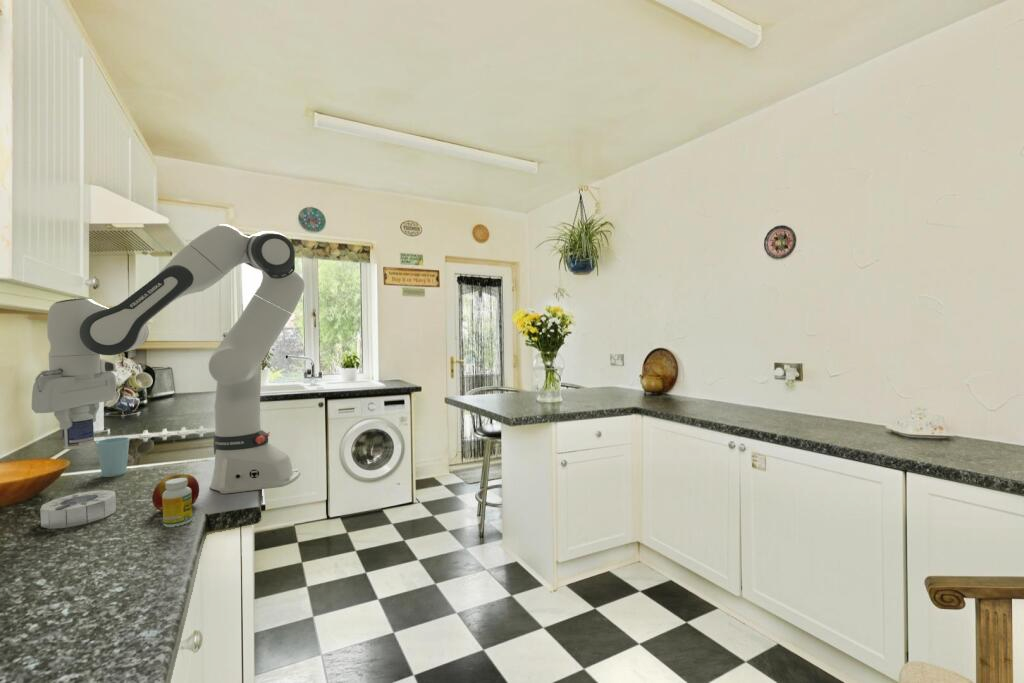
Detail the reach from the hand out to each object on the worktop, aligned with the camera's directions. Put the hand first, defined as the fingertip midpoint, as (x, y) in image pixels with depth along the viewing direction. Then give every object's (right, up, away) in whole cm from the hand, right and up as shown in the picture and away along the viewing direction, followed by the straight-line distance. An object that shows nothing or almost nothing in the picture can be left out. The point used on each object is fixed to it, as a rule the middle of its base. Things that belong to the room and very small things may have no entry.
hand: (78, 425), depth 110 cm
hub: (+2, -21, -2) cm, 21 cm away
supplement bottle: (+28, -21, -6) cm, 36 cm away
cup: (-18, -21, +30) cm, 41 cm away
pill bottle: (0, -5, 0) cm, 5 cm away
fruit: (+22, -21, +2) cm, 30 cm away
